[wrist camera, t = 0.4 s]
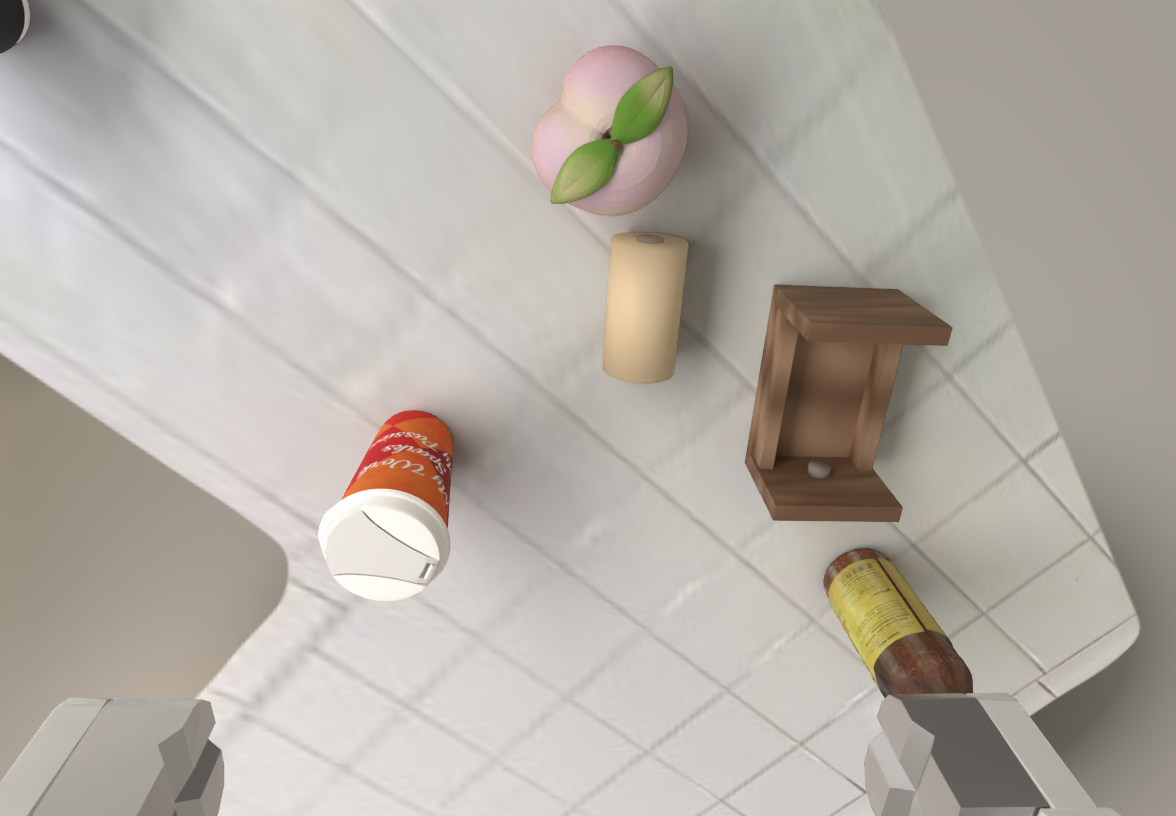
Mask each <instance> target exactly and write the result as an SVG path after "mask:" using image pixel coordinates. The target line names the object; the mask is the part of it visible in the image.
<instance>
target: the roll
mask: <svg viewBox="0 0 1176 816" xmlns="http://www.w3.org/2000/svg"><path fill="white" fill-rule="evenodd" d="M688 246H689V243H688V242H687V241H686V240H684V239H682V238H679V237H676V236H672V235H668V234H661V233H650V232H626V233H620V234H616V235H614V236H613V237H612V239H611V253H610V268H609V282H608V297H607V311H606V326H605V340H604V355H603V370H604V371H605V372H606V373H607V374H608V375H610V376H612V377H614V378H616V379H619V380H622V381H627V382H632V383H657V382H662V381H665V380H668V379H670V378H671V377H672V376H673V375H674V370H675V361H676V352H677V343H678V334H679V325H680V316H681V308H682V299H683V290H684V281H685V272H686V263H687V254H688Z"/></svg>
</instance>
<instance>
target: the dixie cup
mask: <svg viewBox="0 0 1176 816" xmlns="http://www.w3.org/2000/svg"><path fill="white" fill-rule="evenodd" d="M29 23H30V9H29V4H28V1H27V0H0V53H3V52H5V51H7V50H9V49H10V48H12V47H13V46H14V45H15V44H17V43H18V42H20V41H21V40H22V39H23V37H24V36H25V34H26V33H27V30H28V27H29Z"/></svg>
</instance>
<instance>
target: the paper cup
mask: <svg viewBox="0 0 1176 816" xmlns="http://www.w3.org/2000/svg"><path fill="white" fill-rule="evenodd" d="M452 457H453V443H452V437H451V434H450V432H449V430H448V428H447V427H446V426H445V424H444V423H443V422H442V421H441V420H439V419H438V418H437V417H435V416H433V415H431V414H429V413H426V412H422V411H404V412H401V413H398V414H396V415H394V416H392V417H391V418H390V419H388V420H387V421H386V422H385V423H384V425H383V426H382V428H381V429H380V431H379V432H378V434H377V436H376V437H375V439H374V441H373V443H372V444H371V446H370V448H369V450H368V451H367V453H366V455H365V457H364V459H363V461H362V462H361V464H360V466H359V468H358V470H357V472H356V474H355V475H354V477H353V479H352V481H351V483H350V485H349V487H348V488H347V490H346V492H345V494H344V496H343V498H342V500H341V501H340V502H339V503H337V504H336V505H335V506H334V507H333V508H331V509H330V510H329V511H327V512H326V513H325V515H324V517H323V519H322V521H321V524H320V527H319V534H318V538H319V541H320V544H321V547H322V551H323V554H324V556H325V558H326V561H327V564H328V567H329V569H330V571H331V573H332V575H333V577H334V578H335V580H336V581H337V582H338V583H339V584H340V585H342V586H343V587H344V588H346V589H347V590H349V591H350V592H352V593H354V594H356V595H359V596H361V597H364V598H368V599H372V600H379V601H392V600H399V599H404V598H407V597H410V596H412V595H414V594H416V593H418V592H420V591H421V590H423V589H424V588H425V587H427V586H428V584H429V583H430V582H431V581H432V580H433V579H435V578H436V577H437V576H438V575H439V574H440V572H441V571H442V570H443V568H444V567H445V565H446V563H447V560H448V558H449V553H450V537H449V532H448V529H447V528H448V516H449V499H450V485H451V473H452Z"/></svg>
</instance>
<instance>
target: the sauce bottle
mask: <svg viewBox="0 0 1176 816" xmlns="http://www.w3.org/2000/svg"><path fill="white" fill-rule="evenodd" d="M824 588H825V590H826V593H827V596H828V598H829V602H830V605H831V607H832V608H833V610H834V612H835V613H836V615H837V617H838V619H839V620H840V622H841V624H842V626H843V627H844V629H845V631H846V633H847V634H848V636H849V638H850V640H851V641H852V643H853V645H854V647H855V649H856V650H857V652H858V653H859V655H860V656H861V658H862V660H863V662H864V664H865V665H866V667H867V669H868V670H869V672H870V674H871V675H872V677H873V680H874V681H875V683H876V684H877V686H878V688H879V689H880V691H881V693H882V694H883V696H884V697H885V698H886V697H887V696H888V695H893V694H950V693H962V694H967V693H973V680H972V675H971V673H970V670H969V669H968V667H967V666H966V664H965V663H964V661H963V660H962V658H961V657H960V656H959V655H958V654H957V652H956V650H955V649H954V648H953V646H952V643H951V641H950V640H949V639H948V637H947V636H946V635H945V633H944V632H943V631H942V629H941V628H940V627H939V625H938V624H937V622H936V621H935V620H934V618H933V617H932V616H931V614H930V613H929V612H928V610H927V609H926V608H925V606H924V605H923V604H922V602H921V601H920V599H919V598H918V597H917V595H916V594H915V593H914V591H913V590H912V588H911V587H910V586H909V584H908V583H907V582H906V580H905V579H904V578H903V576H902V575H901V574H900V572H899V571H898V570H897V568H896V567H895V566H894V565H893V564H892V563H891V562H890V560H889V559H888V558H886V557H885V556H883V555H882V554H881V553H878V552H876V551H872V550H869V549H859V550H854V551H851V552H848V553H845V554H843V555H841V556H840V557H838V558H837V559H836V560H835V561H833V562H832V563H831V565H830V566H829V568H828V569H827V572H826V574H825V577H824Z"/></svg>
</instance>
